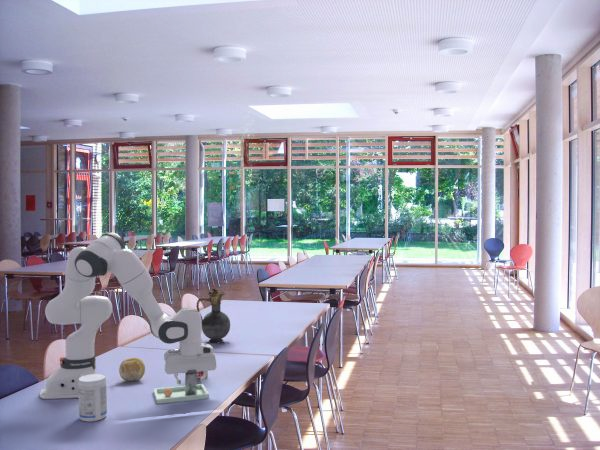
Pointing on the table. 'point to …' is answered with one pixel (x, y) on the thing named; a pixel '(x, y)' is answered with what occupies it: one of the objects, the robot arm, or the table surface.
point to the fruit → (132, 369)
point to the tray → (179, 394)
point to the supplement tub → (92, 397)
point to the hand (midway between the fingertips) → (190, 382)
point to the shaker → (191, 382)
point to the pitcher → (215, 319)
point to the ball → (168, 392)
